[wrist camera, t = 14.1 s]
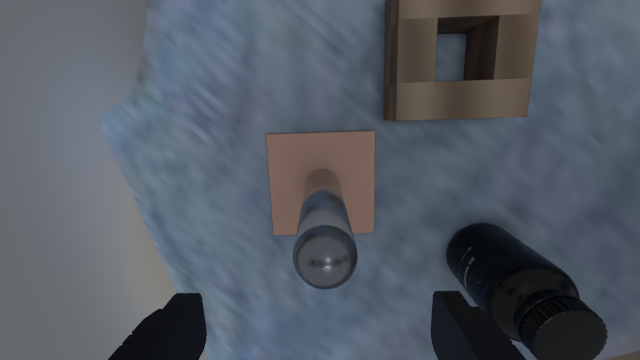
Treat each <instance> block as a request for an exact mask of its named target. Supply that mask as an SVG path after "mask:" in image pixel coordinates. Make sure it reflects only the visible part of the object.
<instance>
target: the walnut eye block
mask: <svg viewBox="0 0 640 360" xmlns="http://www.w3.org/2000/svg"><path fill="white" fill-rule="evenodd" d="M540 7H541V0H386V1H385V65H384V119H386V120H392V121H412V120H441V119H471V118H500V117H527V113H528V105H529V96H530V88H531V80H532V72H533V64H534V56H535V47H536V39H537V31H538V23H539V15H540ZM452 33H467V42H466V56H465V70H464V81H444V82H434V80H435V61H436V41H437V34H452Z"/></svg>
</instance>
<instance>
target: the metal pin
mask: <svg viewBox="0 0 640 360" xmlns="http://www.w3.org/2000/svg"><path fill="white" fill-rule="evenodd" d="M357 257H358V256H357V248H356V244H355V240H354V237H353V233H352V229H351V225H350V221H349V218H348V214H347V210H346V206H345V202H344V198H343V195H342V191H341V187H340V183H339V180H338V178H337V176H336V175H335V174H334V173H333V172H332V171H330V170H327V169H318V170H316V171H314V172H312V173H311V174H310V175H309V177H308V179H307V181H306V186H305V192H304V197H303V202H302V207H301V213H300V218H299V223H298V229H297V234H296V239H295V244H294V250H293V262H294V266H295V269H296V271H297V273H298V275H299V276H300V277H301V279H302V280H303V281H304V282H306V283H307V284H308V285H310V286H312V287H315V288H318V289H333V288H336V287H339V286H341V285H342V284H344V283H345V282H346V281H347V280H348V279H349V278H350V277H351V276H352V274H353V272H354V270H355V268H356V264H357Z"/></svg>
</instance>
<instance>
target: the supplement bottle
mask: <svg viewBox="0 0 640 360" xmlns="http://www.w3.org/2000/svg"><path fill="white" fill-rule="evenodd" d="M448 264H449V267H450V269H451V271H452V273H453V274H454V275H455V277H456V278H457V280H458V281H459V282H460V284H461V285H462V286H463V288H464V289H465V290H466V291H467V293H468V294H469V295H470V297H471V298H472V299H473V301H474V302H475V303H476V305H477V306H478V307H479V308H480V309H482V310H483V311H484V312H486V313H487V314H489V315H490V316H491V317H493V318H494V320H495V321H496V322H497V323H498V325H499V326H500V327H501V328H502V330H503V332H504V333H505V334H506V335H507V336H508V337H509V339H511V340H514V341H517V342H521V343H523V344H524V346H525V347H526V348H528V349H529V350H530V351H531V353H532V354H533V355H534V356H535V357H536V358H537V359H538V360H593V359H595V357H596V356H597V355H599V354H600V352H601V350H602V349H603V348H604V345H605V344H606V339H607V337H608V336H607V329H606V325H605V324H604V323H603V320H602V319H601V318H600V317H599V316H598V315H597V314H596V313H595V312H594V311H592V310H591V309H590V308H588V306H587V305H586V304H585V303H584V302H583V301H581V300H580V296H579V292H578V289H577V287H576V285H575V283H574V282H573V280H572V279H571V278H570V277H569V276H568V275H567V274H566V273H565V272H564V271H562V270H561V269H560V268H558V267H557V266H555V265H554V264H553V263H551V262H550V261H548V260H547V259H545V258H544V257H543V256H541V255H540V254H538V253H537V252H535V251H534V250H533V249H531V248H530V247H528V246H527V245H525V244H524V243H523V242H521V241H520V240H518V239H517V238H515V237H514V236H513V235H511V234H510V233H508V232H507V231H505V230H504V229H502V228H500V227H498V226H495V225H490V224H479V225H474V226H471V227H468V228H466V229H464V230H463V231H461V232H460V233H459V234H458V235H457V236H456V237H455V238H454V239H453V241H452V242H451V244H450V247H449V250H448Z"/></svg>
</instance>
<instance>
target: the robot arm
mask: <svg viewBox="0 0 640 360" xmlns="http://www.w3.org/2000/svg"><path fill="white" fill-rule="evenodd" d="M206 336H207V331H206V323H205V316H204V309H203V302H202V297H201V295H200V294H199V293H177V294H175V295H174V296H173V297H172V298H171V300H170V301H169V302H168V303H167V305H166V306H165V307H164V308H163V309H158V310H156V311H155V312H153V313H152V314H151V315H149V316H148V317H146V318H145V319H143V320H142V322H141V323H140V324H139V325H138V326H137V327H136V328H135V329H134V331H133V332H132V335H129V336H128V337H127V338H126V340H125V341H124V342H123V344H122V346H120V347H119V348H118V349H117V350H116V351H115V352H114V353H113V354H112V356H111V357H110V358H109V359H108V360H199V358H200V356H201V354H202V352H203V350H204V347H205V343H206ZM431 339H432V344H433V348H434V351H435V353H436V356H437V358H438V360H526V359H525V358H524V356H523V355H522V354H521V353H520V351H519V350H518V349H517V347H516V346H515V345H513V344H512V341H511V340H510V339H509V337H508V336H507V335H506V334H505V333H504V332H503V330H502V328H501V327H500V326H499V325H498V323H497V322H496V321H495V320H494V318H493V317H491V316H490V315H489V314H487V313H486V312H484V311H483V310H482V309H480V308H479V307H470V305H469V304H468V302H467V301H466V300H465V298H464V297H463V296H462V294H461V293H460V292H459V291H435V292H434V294H433V304H432V319H431Z"/></svg>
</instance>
